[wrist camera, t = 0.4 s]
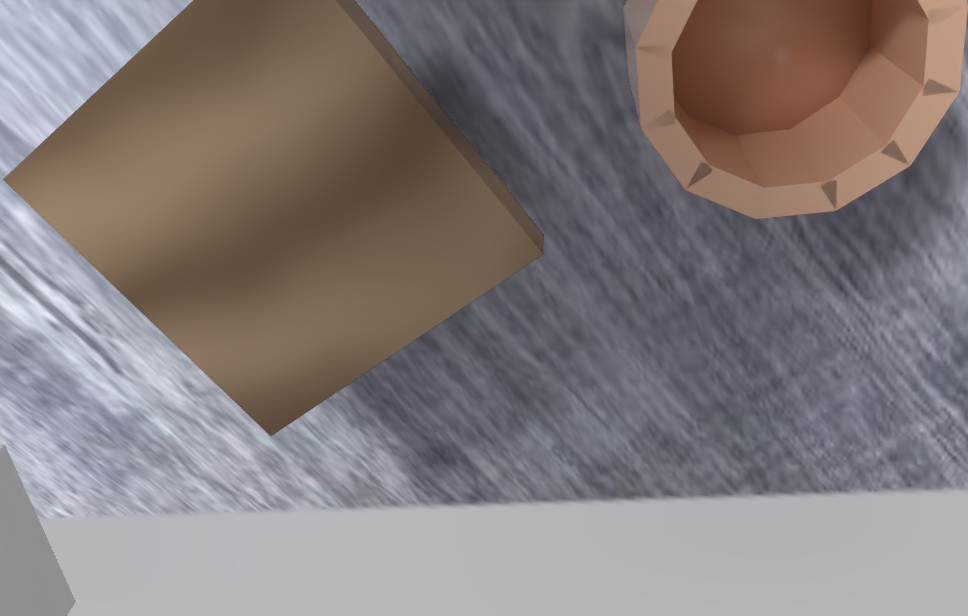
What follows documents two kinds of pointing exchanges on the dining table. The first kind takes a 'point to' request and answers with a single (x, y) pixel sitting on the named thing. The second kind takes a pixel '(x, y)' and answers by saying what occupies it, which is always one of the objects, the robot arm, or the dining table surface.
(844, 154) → the bowl
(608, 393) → the dining table surface
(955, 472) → the dining table surface
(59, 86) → the dining table surface
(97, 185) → the lid
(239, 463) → the dining table surface
